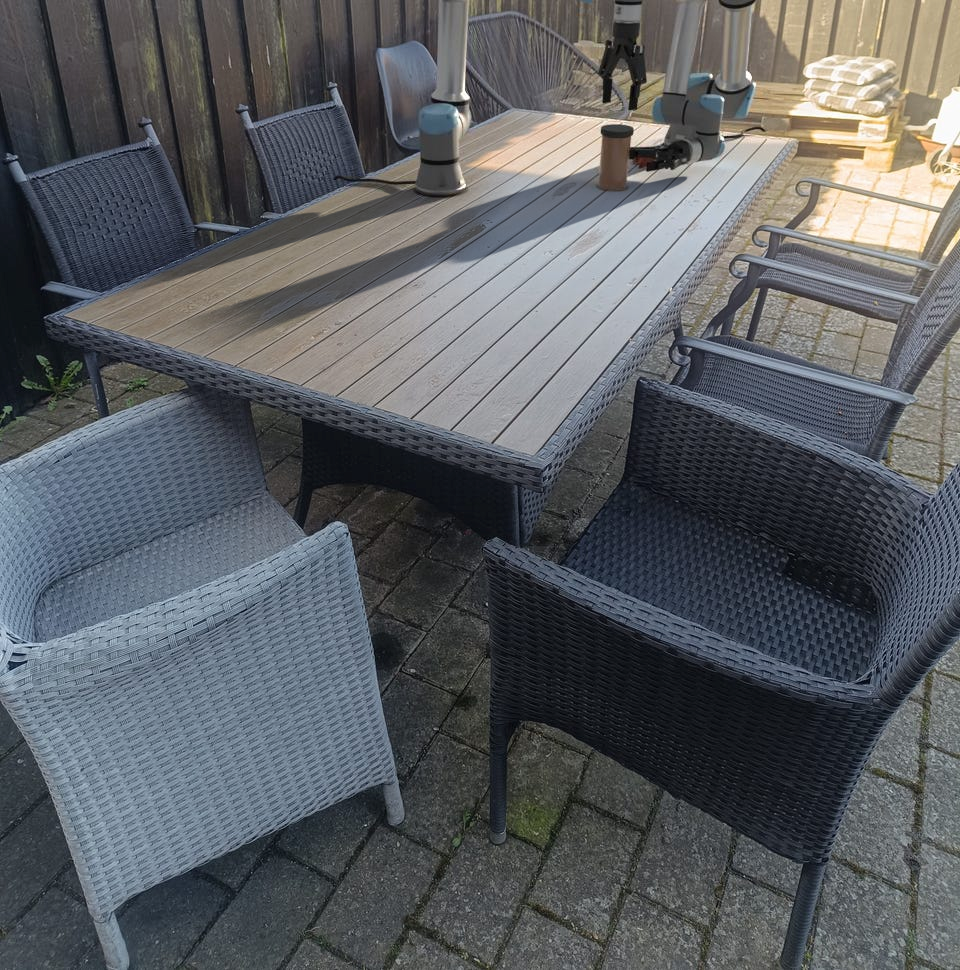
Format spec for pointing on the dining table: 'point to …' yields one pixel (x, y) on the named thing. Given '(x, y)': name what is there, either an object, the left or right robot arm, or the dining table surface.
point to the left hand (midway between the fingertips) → (619, 106)
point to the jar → (614, 163)
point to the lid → (617, 131)
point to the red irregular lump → (642, 161)
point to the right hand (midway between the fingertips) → (632, 161)
